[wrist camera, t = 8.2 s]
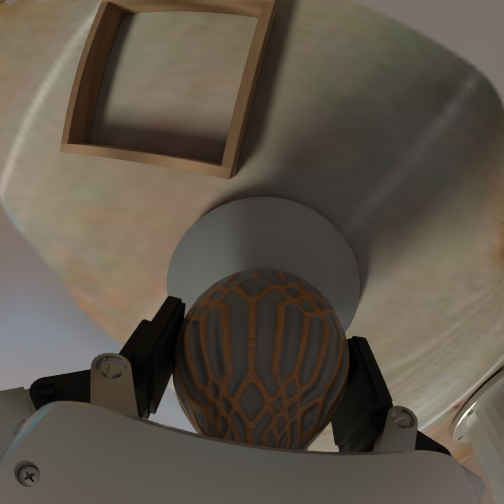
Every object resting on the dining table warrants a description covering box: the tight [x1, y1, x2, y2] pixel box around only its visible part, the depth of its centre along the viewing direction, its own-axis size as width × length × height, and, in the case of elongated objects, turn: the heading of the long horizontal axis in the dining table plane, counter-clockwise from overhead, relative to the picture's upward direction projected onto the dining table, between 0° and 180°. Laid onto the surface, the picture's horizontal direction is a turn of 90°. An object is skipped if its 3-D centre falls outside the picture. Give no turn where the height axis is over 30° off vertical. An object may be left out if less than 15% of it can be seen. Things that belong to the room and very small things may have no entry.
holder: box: [60, 0, 276, 179], centre depth 12 cm, size 10×10×2 cm
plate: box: [167, 195, 360, 332], centre depth 16 cm, size 11×11×1 cm
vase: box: [172, 268, 349, 451], centre depth 10 cm, size 7×7×9 cm
